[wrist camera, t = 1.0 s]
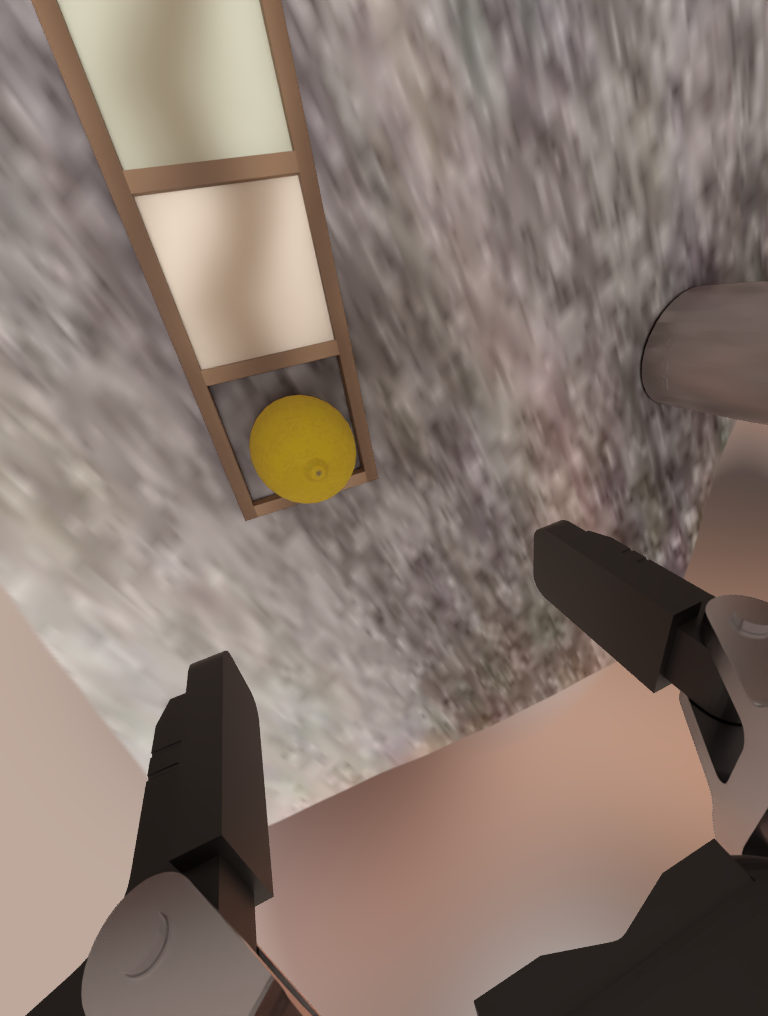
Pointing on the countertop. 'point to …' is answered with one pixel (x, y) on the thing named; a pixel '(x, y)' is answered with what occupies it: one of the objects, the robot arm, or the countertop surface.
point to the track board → (213, 190)
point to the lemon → (303, 449)
